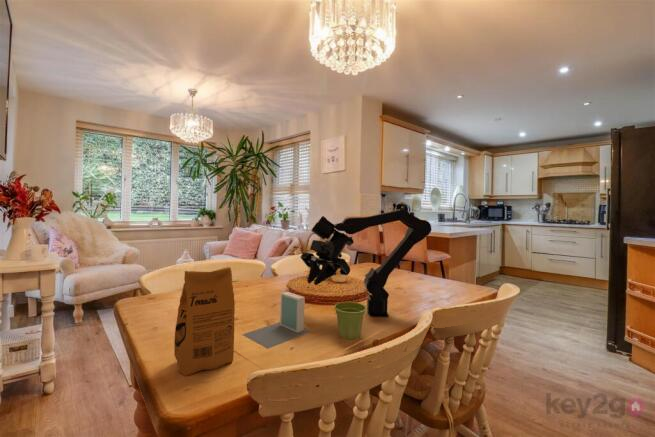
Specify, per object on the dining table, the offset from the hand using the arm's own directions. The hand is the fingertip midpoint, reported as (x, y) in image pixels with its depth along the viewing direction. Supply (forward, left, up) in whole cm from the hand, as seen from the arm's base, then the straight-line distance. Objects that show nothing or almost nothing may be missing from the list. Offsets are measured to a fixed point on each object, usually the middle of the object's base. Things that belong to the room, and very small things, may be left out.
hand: (311, 283), depth 97 cm
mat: (+10, +9, -13) cm, 19 cm away
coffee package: (+25, +25, -13) cm, 38 cm away
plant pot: (-11, +11, -13) cm, 20 cm away
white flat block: (+6, +6, -12) cm, 15 cm away
